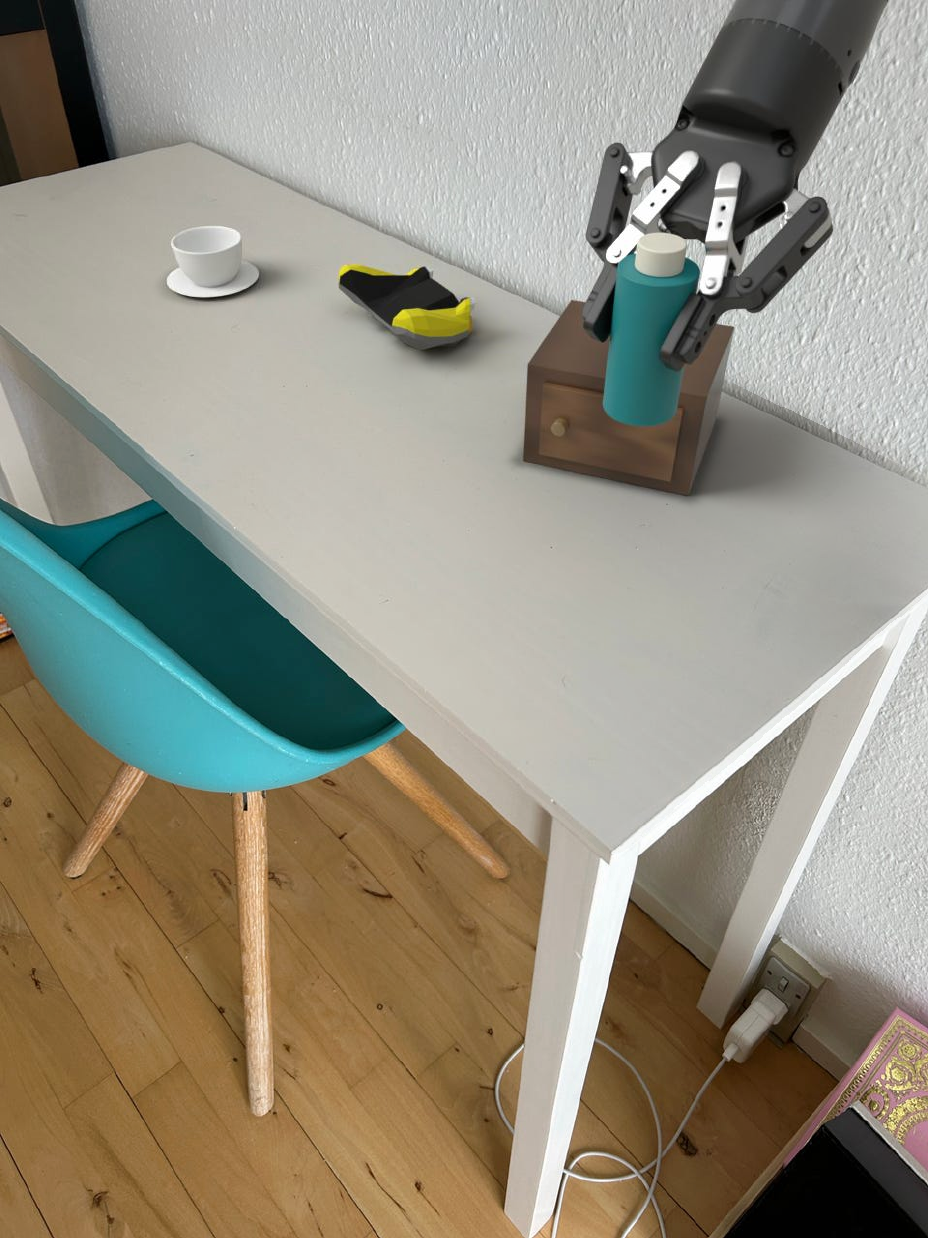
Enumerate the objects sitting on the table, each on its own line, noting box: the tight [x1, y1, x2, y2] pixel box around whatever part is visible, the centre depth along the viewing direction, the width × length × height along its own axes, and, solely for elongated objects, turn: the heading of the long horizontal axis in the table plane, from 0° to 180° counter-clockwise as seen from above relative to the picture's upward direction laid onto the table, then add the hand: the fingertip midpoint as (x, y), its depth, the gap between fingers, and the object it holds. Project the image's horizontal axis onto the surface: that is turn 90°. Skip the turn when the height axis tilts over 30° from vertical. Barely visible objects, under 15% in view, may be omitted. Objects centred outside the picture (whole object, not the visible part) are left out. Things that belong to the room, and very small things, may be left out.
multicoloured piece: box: [337, 263, 476, 350], centre depth 97 cm, size 15×6×10 cm
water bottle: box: [603, 233, 701, 427], centre depth 55 cm, size 4×4×10 cm
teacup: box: [166, 225, 260, 298], centre depth 106 cm, size 10×10×5 cm
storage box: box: [522, 299, 735, 497], centre depth 81 cm, size 14×13×9 cm
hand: (630, 348), depth 54 cm, fingers closed on water bottle, 4 cm apart
